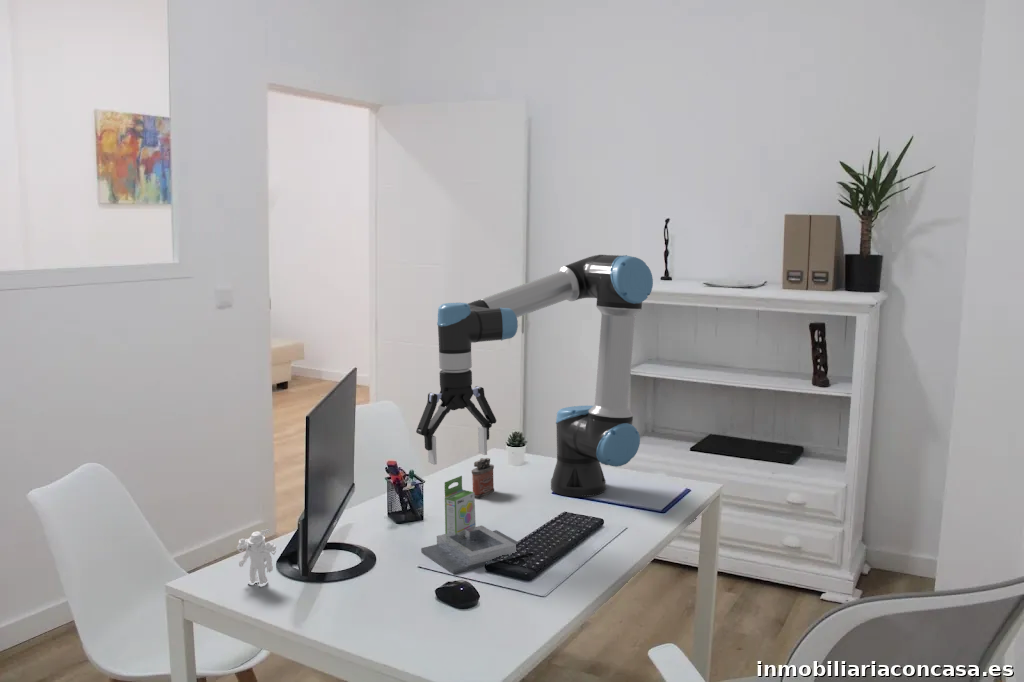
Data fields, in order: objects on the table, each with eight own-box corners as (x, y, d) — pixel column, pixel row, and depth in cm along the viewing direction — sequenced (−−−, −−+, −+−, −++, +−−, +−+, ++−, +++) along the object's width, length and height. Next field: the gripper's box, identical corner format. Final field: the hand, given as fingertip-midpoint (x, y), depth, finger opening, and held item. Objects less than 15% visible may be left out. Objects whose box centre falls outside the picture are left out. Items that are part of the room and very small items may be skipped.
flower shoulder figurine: (281, 583, 185) (278, 527, 183) (270, 590, 182) (267, 534, 180) (246, 577, 188) (242, 523, 187) (234, 584, 185) (230, 529, 183)
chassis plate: (496, 534, 211) (496, 522, 211) (531, 553, 199) (531, 540, 198) (421, 552, 201) (420, 539, 200) (453, 574, 188) (452, 560, 188)
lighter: (487, 489, 246) (486, 454, 244) (497, 491, 244) (496, 456, 242) (469, 497, 239) (468, 461, 238) (479, 499, 237) (478, 463, 236)
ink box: (457, 540, 208) (456, 485, 206) (444, 537, 210) (443, 482, 208) (476, 531, 213) (474, 477, 212) (463, 528, 216) (461, 475, 214)
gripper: (492, 361, 216) (494, 446, 219) (399, 373, 202) (403, 463, 205) (509, 365, 209) (511, 453, 213) (414, 378, 196) (418, 471, 199)
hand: (458, 458), depth 209 cm, fingers open, 13 cm apart
